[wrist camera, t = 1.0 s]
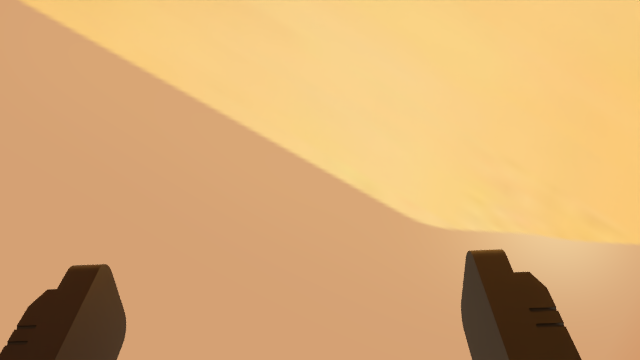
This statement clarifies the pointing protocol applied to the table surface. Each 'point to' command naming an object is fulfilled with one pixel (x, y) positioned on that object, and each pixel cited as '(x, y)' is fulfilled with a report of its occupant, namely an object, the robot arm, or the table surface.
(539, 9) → the table surface
